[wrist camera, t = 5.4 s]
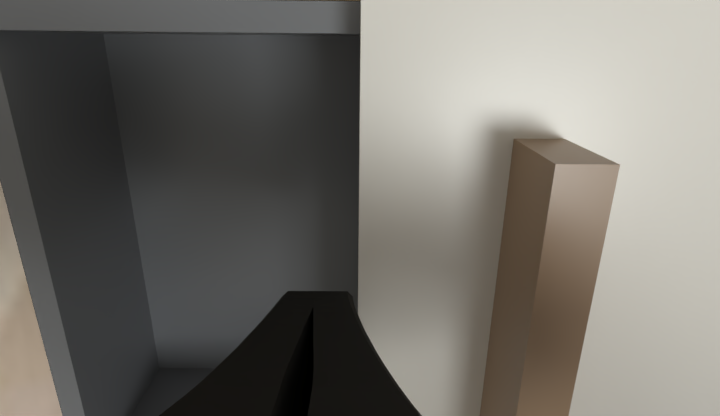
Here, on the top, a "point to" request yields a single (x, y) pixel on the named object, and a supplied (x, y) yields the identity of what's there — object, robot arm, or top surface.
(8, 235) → the top surface
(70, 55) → the storage box
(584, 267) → the lid
